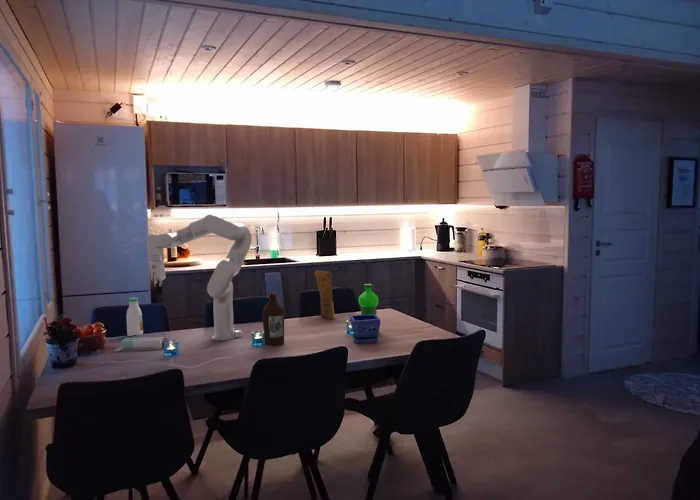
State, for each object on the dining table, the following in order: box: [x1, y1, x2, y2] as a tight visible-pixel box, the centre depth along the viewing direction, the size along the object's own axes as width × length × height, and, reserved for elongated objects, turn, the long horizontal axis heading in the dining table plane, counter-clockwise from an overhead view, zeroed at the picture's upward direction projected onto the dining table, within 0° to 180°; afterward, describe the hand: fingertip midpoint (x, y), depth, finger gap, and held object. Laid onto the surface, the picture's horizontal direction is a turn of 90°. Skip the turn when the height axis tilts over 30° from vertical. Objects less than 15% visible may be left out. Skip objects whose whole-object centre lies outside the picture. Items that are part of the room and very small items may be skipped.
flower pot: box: [349, 314, 381, 345], centre depth 266 cm, size 13×13×12 cm
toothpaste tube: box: [123, 336, 164, 347], centre depth 264 cm, size 19×3×4 cm, turn 92°
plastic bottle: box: [357, 283, 379, 315], centre depth 285 cm, size 10×10×25 cm
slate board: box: [114, 338, 182, 352], centre depth 267 cm, size 26×20×1 cm
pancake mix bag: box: [314, 269, 335, 320], centre depth 329 cm, size 7×19×28 cm, turn 25°
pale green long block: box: [120, 336, 169, 350], centre depth 260 cm, size 21×4×5 cm, turn 92°
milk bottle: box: [126, 297, 144, 337], centre depth 292 cm, size 8×8×20 cm
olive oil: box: [261, 291, 285, 347], centre depth 265 cm, size 11×11×25 cm
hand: (159, 294), depth 280 cm, fingers closed
